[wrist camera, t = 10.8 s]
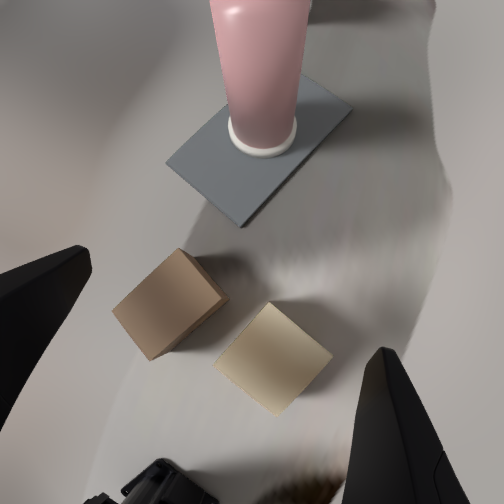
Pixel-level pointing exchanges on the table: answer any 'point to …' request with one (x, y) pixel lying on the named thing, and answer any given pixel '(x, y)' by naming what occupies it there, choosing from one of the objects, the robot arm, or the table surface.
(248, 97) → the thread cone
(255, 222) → the table surface
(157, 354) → the walnut block
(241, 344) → the birch block
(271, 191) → the slate mat
